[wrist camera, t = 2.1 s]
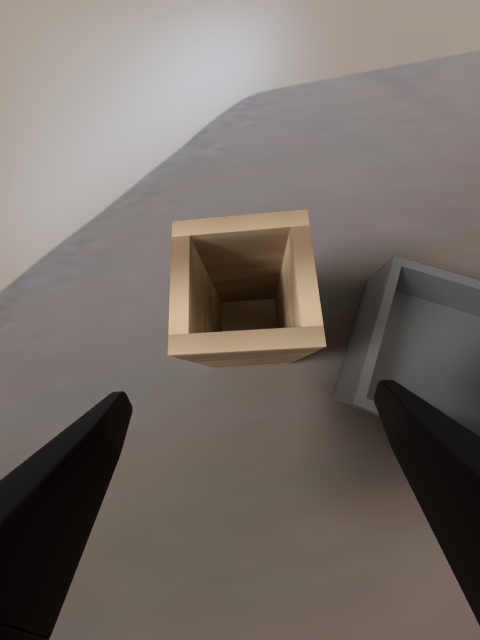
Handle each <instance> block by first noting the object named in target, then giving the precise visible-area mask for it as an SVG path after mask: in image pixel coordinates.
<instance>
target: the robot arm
mask: <svg viewBox="0 0 480 640" xmlns="http://www.w3.org/2000/svg"><path fill="white" fill-rule="evenodd" d="M374 403H375V406H376V408H377V411H378V414H379V416H380V419H381V422H382V424H383V427H384V430H385V432H386V435H387V438H388V440H389V443H390V445H391V448H392V450H393V452H394V454H395V456H396V458H397V460H398V462H399V464H400V466H401V468H402V470H403V472H404V474H405V476H406V478H407V480H408V482H409V484H410V486H411V488H412V490H413V492H414V494H415V496H416V498H417V500H418V502H419V504H420V506H421V508H422V510H423V512H424V515H425V517H426V519H427V521H428V523H429V525H430V527H431V529H432V531H433V533H434V535H435V537H436V539H437V541H438V543H439V545H440V547H441V549H442V551H443V553H444V555H445V557H446V559H447V561H448V563H449V565H450V567H451V569H452V571H453V573H454V575H455V577H456V579H457V581H458V583H459V585H460V587H461V589H462V591H463V593H464V595H465V597H466V599H467V601H468V603H469V605H470V607H471V609H472V611H473V613H474V615H475V617H476V619H477V621H478V623H479V625H480V436H479V435H477V434H476V433H474V432H472V431H471V430H469V429H468V428H466V427H465V426H463V425H462V424H460V423H459V422H457V421H456V420H454V419H453V418H451V417H449V416H448V415H446V414H445V413H443V412H442V411H440V410H439V409H437V408H436V407H434V406H433V405H431V404H430V403H428V402H426V401H425V400H423V399H422V398H420V397H419V396H417V395H416V394H414V393H413V392H411V391H410V390H408V389H407V388H405V387H404V386H402V385H400V384H399V383H397V382H396V381H394V380H380V381H379V382H378V384H377V387H376V391H375V394H374ZM131 415H132V405H131V403H130V401H129V398H128V396H127V394H126V393H125V392H123V391H121V392H112V393H111V394H109V395H108V396H107V397H105V398H104V399H103V400H102V401H100V402H99V403H98V404H97V405H95V406H94V407H93V408H91V409H90V410H89V411H88V412H86V413H85V414H84V415H83V416H81V417H80V418H79V419H77V420H76V421H75V422H74V423H72V424H71V425H70V426H69V427H67V428H66V429H65V430H64V431H62V432H61V433H60V434H58V435H57V436H56V437H55V438H53V439H52V440H51V441H50V442H48V443H47V444H46V445H44V446H43V447H42V448H41V449H39V450H38V451H37V452H36V453H34V454H33V455H32V456H30V457H29V458H28V459H27V460H25V461H24V462H23V463H22V464H20V465H19V466H18V467H16V468H15V469H14V470H13V471H11V472H10V473H9V474H8V475H6V476H5V477H4V478H2V479H1V480H0V640H49V638H50V636H51V634H52V632H53V629H54V626H55V624H56V621H57V619H58V616H59V613H60V611H61V608H62V606H63V603H64V600H65V598H66V595H67V593H68V590H69V587H70V585H71V582H72V580H73V577H74V574H75V572H76V569H77V566H78V564H79V561H80V559H81V556H82V553H83V551H84V548H85V546H86V543H87V540H88V538H89V535H90V533H91V530H92V527H93V525H94V522H95V520H96V517H97V514H98V512H99V509H100V507H101V504H102V501H103V499H104V496H105V494H106V491H107V488H108V486H109V483H110V481H111V478H112V475H113V473H114V470H115V468H116V465H117V462H118V460H119V457H120V454H121V451H122V447H123V444H124V440H125V437H126V433H127V429H128V426H129V422H130V419H131Z"/></svg>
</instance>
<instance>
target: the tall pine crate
mask: <svg viewBox="0 0 480 640" xmlns="http://www.w3.org/2000/svg"><path fill="white" fill-rule="evenodd" d="M325 347H326V340H325V333H324V326H323V319H322V312H321V304H320V297H319V290H318V283H317V276H316V269H315V262H314V254H313V247H312V240H311V233H310V226H309V219H308V211H307V209H305V210H294V211H283V212H272V213H261V214H250V215H238V216H227V217H216V218H205V219H194V220H183V221H172V245H171V275H170V305H169V336H168V355H169V356H173V357H176V358H180V359H184V360H187V361H191V362H195V363H199V364H202V365H206V366H210V367H214V368H220V367H240V366H260V365H280V364H291V363H293V362H295V361H297V360H299V359H301V358H304V357H306V356H308V355H310V354H312V353H314V352H316V351H318V350H320V349H322V348H325Z"/></svg>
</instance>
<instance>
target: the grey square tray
mask: <svg viewBox="0 0 480 640" xmlns="http://www.w3.org/2000/svg"><path fill="white" fill-rule="evenodd" d="M380 380H394V381H396V382H397V383H399V384H400V385H402V386H404V387H405V388H407V389H408V390H410V391H411V392H413V393H414V394H416V395H417V396H419V397H420V398H422V399H423V400H425V401H426V402H428V403H430V404H431V405H433V406H434V407H436V408H437V409H439V410H440V411H442V412H443V413H445V414H446V415H448V416H449V417H451V418H453V419H454V420H456V421H457V422H459V423H460V424H462V425H463V426H465V427H466V428H468V429H469V430H471V431H472V432H474V433H476V434H477V435H479V436H480V280H476V279H473V278H469V277H466V276H463V275H459V274H456V273H452V272H449V271H445V270H442V269H438V268H435V267H432V266H428V265H425V264H421V263H418V262H414V261H411V260H408V259H404V258H401V257H397V256H393V257H392V258H391V259H390V260H389V261H388V262H387V263H386V264H385V265H383V266H382V267H381V268H380V269H379V270H378V271H377V272H376V273H375V274H374V275H372V276H371V277H370V278H369V279H368V280H367V282H366V286H365V289H364V293H363V296H362V299H361V303H360V306H359V309H358V313H357V316H356V319H355V323H354V326H353V329H352V333H351V336H350V339H349V343H348V346H347V349H346V353H345V356H344V360H343V363H342V366H341V370H340V373H339V376H338V380H337V383H336V386H335V390H334V393H333V396H332V399H334V400H337V401H339V402H342V403H344V404H347V405H349V406H352V407H354V408H357V409H359V410H362V411H364V412H367V413H369V414H372V415H374V416H377V417H379V418H380V416H379V414H378V411H377V408H376V406H375V403H374V394H375V391H376V387H377V384H378V382H379V381H380Z"/></svg>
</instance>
